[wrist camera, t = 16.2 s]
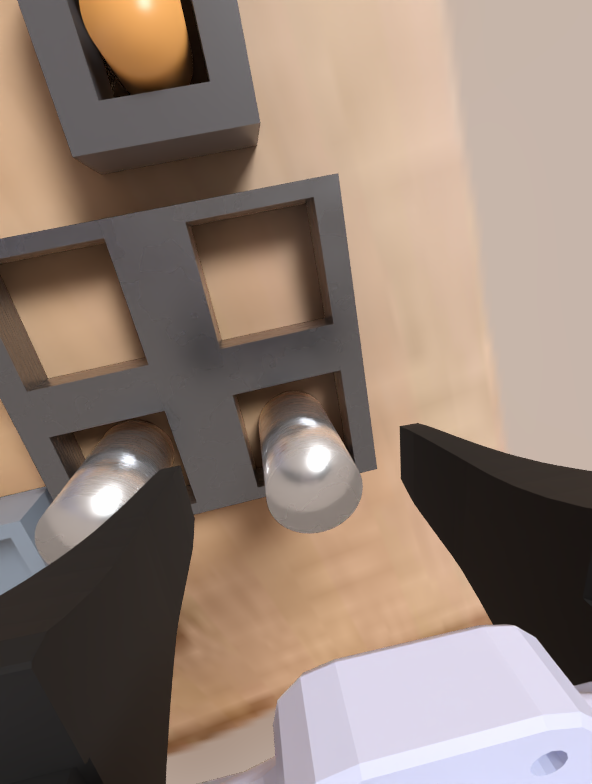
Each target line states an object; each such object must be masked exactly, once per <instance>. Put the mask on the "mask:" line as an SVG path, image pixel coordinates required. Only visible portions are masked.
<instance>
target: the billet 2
mask: <svg viewBox="0 0 592 784" xmlns="http://www.w3.org/2000/svg"><path fill="white" fill-rule="evenodd" d="M259 435H260V444H261V453H262V463H263V472H264V481H265V490H266V500H267V505H268V508H269V511H270V512H271V514H272V516H273V517H274V518H275V520H276V521H277V522H278V523H280V524H281V525H282V526H284V527H286V528H287V529H290V530H292V531H295V532H299V533H319V532H324V531H327V530H330V529H332V528H334V527H336V526H338V525H340V524H341V523H343V522H344V521H345V520H346V519H347V518H349V517H350V515H351V514H352V513H353V512H354V511H355V509H356V508H357V506H358V504H359V502H360V499H361V495H362V488H363V485H362V478H361V475H360V473H359V470H358V469H357V467H356V465H355V463H354V462H353V460H352V458H351V456H350V454H349V453H348V451H347V449H346V447H345V446H344V444H343V442H342V440H341V438H340V437H339V435H338V433H337V431H336V430H335V428H334V426H333V424H332V423H331V421H330V419H329V417H328V415H327V414H326V412H325V410H324V408H323V407H322V405H321V404H320V402H319V401H318V400H317V399H316V398H314V397H313V396H311V395H309V394H307V393H304V392H298V391H290V392H285V393H282V394H279V395H277V396H275V397H274V398H272V399H271V400H270V401H269V402H268V403H267V404H266V405H265V406H264V408H263V410H262V412H261V414H260V417H259Z"/></svg>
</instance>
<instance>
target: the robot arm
mask: <svg viewBox="0 0 592 784" xmlns="http://www.w3.org/2000/svg"><path fill="white" fill-rule="evenodd" d="M400 457H401V480H402V482H403V484H404V486H405V488H406V490H407V492H408V493H409V495H410V497H411V499H412V501H413V502H414V504H415V505H416V507H417V508H418V510H419V511H420V513H421V514H422V515H423V517H424V518H425V519H426V521H427V522H428V524H429V525H430V526H431V528H432V529H433V530H434V532H435V533H436V534H437V536H438V537H439V539H440V540H441V541H442V543H443V544H444V545H445V547H446V548H447V549H448V551H449V552H450V553H451V555H452V556H453V558H454V559H455V561H456V562H457V564H458V565H459V567H460V568H461V570H462V571H463V573H464V574H465V576H466V578H467V580H468V581H469V583H470V585H471V586H472V588H473V590H474V591H475V593H476V595H477V597H478V598H479V600H480V602H481V604H482V605H483V607H484V609H485V611H486V613H487V614H488V616H489V618H490V620H491V622H492V623H493V625H478V626H474V627H470V628H465V629H461V630H457V631H453V632H449V633H444V634H440V635H436V636H432V637H427V638H423V639H419V640H415V641H410V642H406V643H402V644H398V645H394V646H389V647H385V648H381V649H377V650H372V651H368V652H364V653H360V654H356V655H351V656H347V657H343V658H339V659H334V660H332V661H329V662H327V663H325V664H323V665H320V666H318V667H316V668H313V669H311V670H309V671H306V672H304V673H303V674H302V675H301V676H300V677H299V678H298V679H297V680H296V681H295V682H294V683H293V684H292V685H291V686H290V687H289V688H288V689H287V690H286V691H285V692H284V693H283V694H282V696H281V697H280V698H279V699H278V700H277V706H276V711H275V717H274V722H273V731H274V743H275V756H274V757H272V758H270V759H268V760H266V761H264V762H262V763H260V764H258V765H256V766H254V767H252V768H250V769H248V770H246V771H244V772H241V773H237V774H233V775H229V776H225V777H222V778H217V779H214V780H210V781H206V782H202V783H199V784H592V471H587V470H580V469H575V468H569V467H563V466H557V465H552V464H547V463H542V462H538V461H533V460H530V459H526V458H522V457H517V456H514V455H510V454H507V453H503V452H500V451H497V450H494V449H491V448H487V447H484V446H481V445H479V444H476V443H473V442H470V441H467V440H464V439H462V438H459V437H456V436H454V435H451V434H448V433H446V432H443V431H440V430H437V429H435V428H432V427H429V426H426V425H423V424H419V423H416V424H410V425H405V426H400ZM194 520H195V518H194V514H193V511H192V507H191V503H190V499H189V496H188V492H187V488H186V484H185V481H184V477H183V473H182V469H181V466H175V467H169V468H164V469H160V470H159V471H158V472H157V473H156V474H155V475H153V476H152V477H151V478H150V479H149V480H148V481H147V482H146V483H145V484H144V485H143V486H142V487H141V488H140V489H139V490H138V491H137V492H136V493H135V494H134V495H133V496H132V497H131V498H130V499H129V500H128V501H127V502H126V503H125V504H124V505H123V506H122V507H121V508H120V509H119V510H118V511H116V512H115V513H114V514H113V515H112V516H111V517H110V518H109V519H107V520H106V521H105V522H104V523H103V524H102V525H101V526H100V527H99V528H97V529H96V530H95V531H94V532H93V533H91V534H90V535H89V536H88V537H86V538H85V539H84V540H83V541H81V542H80V543H79V544H77V545H76V546H75V547H73V548H72V549H71V550H69V551H68V552H67V553H65V554H64V555H63V556H61V557H60V558H58V559H57V560H55V561H54V562H52V563H51V564H49V565H48V566H46V567H45V568H43V569H42V570H40V571H39V572H37V573H36V574H34V575H33V576H31V577H30V578H28V579H27V580H25V581H23V582H22V583H20V584H18V585H17V586H15V587H13V588H12V589H10V590H8V591H7V592H5V593H3V594H2V595H0V784H166V764H167V748H168V731H169V715H170V702H171V689H172V677H173V665H174V655H175V645H176V634H177V628H178V621H179V615H180V610H181V605H182V600H183V595H184V590H185V585H186V580H187V575H188V570H189V565H190V560H191V555H192V549H193V539H194Z"/></svg>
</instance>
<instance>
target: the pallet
mask: <svg viewBox="0 0 592 784" xmlns="http://www.w3.org/2000/svg"><path fill="white" fill-rule="evenodd" d="M305 203H306V206H307V212H308V218H309V224H310V230H311V237H312V243H313V249H314V255H315V261H316V267H317V273H318V280H319V286H320V292H321V298H322V304H323V310H324V316H325V318H322V319H317V320H313V321H308V322H304V323H299V324H295V325H290V326H286V327H281V328H277V329H272V330H267V331H263V332H258V333H254V334H249V335H245V336H240V337H236V338H231V339H227V340H222V339H221V336H220V332H219V328H218V325H217V321H216V317H215V313H214V310H213V306H212V302H211V299H210V295H209V291H208V287H207V284H206V280H205V276H204V273H203V269H202V265H201V261H200V258H199V254H198V250H197V247H196V243H195V239H194V235H193V232H192V228H191V226H194V225H199V224H204V223H209V222H214V221H219V220H224V219H229V218H234V217H240V216H245V215H250V214H255V213H260V212H265V211H270V210H275V209H280V208H285V207H290V206H295V205H300V204H305ZM103 243H106V245H107V248H108V251H109V254H110V256H111V259H112V262H113V265H114V268H115V271H116V274H117V276H118V279H119V282H120V285H121V288H122V291H123V293H124V296H125V299H126V302H127V305H128V308H129V311H130V313H131V316H132V319H133V322H134V325H135V328H136V331H137V333H138V336H139V339H140V342H141V345H142V348H143V351H144V353H145V356H146V357H145V358H140V359H136V360H131V361H126V362H122V363H117V364H113V365H108V366H104V367H99V368H95V369H90V370H86V371H81V372H76V373H72V374H67V375H63V376H58V377H54V378H49V379H48V378H47V376H46V374H45V371H44V369H43V367H42V365H41V363H40V361H39V358H38V356H37V354H36V352H35V350H34V348H33V345H32V343H31V341H30V339H29V337H28V334H27V332H26V330H25V328H24V326H23V324H22V321H21V319H20V317H19V315H18V313H17V311H16V308H15V306H14V304H13V302H12V300H11V297H10V295H9V293H8V291H7V289H6V287H5V284H4V282H3V280H2V278H1V276H0V399H1V400H2V402H3V404H4V406H5V408H6V410H7V412H8V414H9V416H10V418H11V420H12V422H13V424H14V425H15V427H16V429H17V431H18V433H19V435H20V437H21V439H22V441H23V443H24V445H25V447H26V449H27V450H28V452H29V454H30V456H31V458H32V460H33V462H34V464H35V466H36V468H37V470H38V472H39V474H40V476H41V477H42V479H43V481H44V483H45V485H46V487H47V489H48V491H49V493H50V495H51V497H52V499H53V501H54V500H55V498H56V497H57V496H58V494H59V493H60V492H61V491H62V489H63V488H64V487H65V485H66V484H67V483H68V481H69V480H70V479H71V478H72V476H73V475H74V474H75V472H76V471H77V470H78V469H79V467H80V466H81V465H82V463H83V462H84V461H85V458H84V456H83V454H82V452H81V450H80V448H79V445H78V443H77V441H76V439H75V437H74V435H73V432H75V431H79V430H83V429H88V428H92V427H96V426H101V425H105V424H109V423H114V422H118V421H122V420H127V419H131V418H135V417H140V416H144V415H148V414H153V413H157V412H162V411H165V413H166V416H167V419H168V422H169V425H170V428H171V430H172V433H173V436H174V439H175V442H176V445H177V448H178V450H179V453H180V456H181V459H182V462H183V465H184V467H185V470H186V473H187V476H188V479H189V482H190V485H187V486H186V488H187V492H188V496H189V499H190V503H191V507H192V511H193V514H198V513H202V512H206V511H210V510H214V509H218V508H222V507H226V506H230V505H234V504H238V503H242V502H246V501H250V500H254V499H258V498H262V497H266V490H265V481H264V472H263V467H261V468H257V469H256V466H255V462H254V458H253V455H252V451H251V447H250V443H249V440H248V436H247V432H246V429H245V425H244V421H243V417H242V414H241V410H240V406H239V403H238V399H237V395H236V394H240V393H244V392H248V391H253V390H257V389H261V388H266V387H270V386H274V385H279V384H283V383H287V382H292V381H296V380H300V379H305V378H309V377H313V376H318V375H322V374H327V373H331V372H334V378H335V384H336V390H337V396H338V402H339V408H340V415H341V421H342V427H343V433H344V439H345V445H346V449H347V451H348V453H349V454H350V456H351V458H352V460H353V462H354V463H355V465H356V467H357V469H358V470H359V473H362V472H366V471H370V470H374V469H377V465H376V457H375V450H374V442H373V434H372V427H371V419H370V412H369V404H368V396H367V389H366V381H365V374H364V366H363V358H362V351H361V343H360V336H359V328H358V320H357V313H356V305H355V297H354V290H353V282H352V275H351V267H350V259H349V252H348V244H347V237H346V229H345V221H344V214H343V206H342V199H341V191H340V183H339V176H338V174H332V175H327V176H322V177H317V178H312V179H307V180H301V181H296V182H291V183H286V184H281V185H276V186H270V187H265V188H260V189H255V190H250V191H245V192H239V193H234V194H229V195H224V196H219V197H214V198H209V199H203V200H198V201H193V202H188V203H183V204H178V205H172V206H167V207H162V208H157V209H152V210H147V211H141V212H136V213H131V214H126V215H121V216H116V217H110V218H105V219H100V220H95V221H90V222H85V223H79V224H74V225H69V226H64V227H59V228H54V229H48V230H43V231H38V232H33V233H28V234H23V235H17V236H12V237H7V238H2V239H0V264H2V263H7V262H12V261H17V260H22V259H27V258H33V257H38V256H43V255H48V254H53V253H58V252H63V251H68V250H73V249H78V248H83V247H88V246H93V245H98V244H103Z"/></svg>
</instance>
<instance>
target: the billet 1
mask: <svg viewBox="0 0 592 784" xmlns="http://www.w3.org/2000/svg"><path fill="white" fill-rule="evenodd" d="M173 461H174V447H173V444H172V441H171V440H170V438H169V436H168V435H167V434H166V433H165V432H164V431H163V430H162V429H160V428H159V427H157V426H155V425H153V424H151V423H148V422H144V421H136V420H134V421H125V422H122V423H119V424H117V425H115V426H113V427H112V428H111V429H109V430H108V431H107V432H106V433H105V435H104V436H103V437H102V439H101V440H100V441H99V443H98V444H97V445H96V446H95V448H94V449H93V450H92V452H91V453H90V454H89V456H88V457H87V458H86V459H85V461H84V462H83V463H82V465H81V466H80V467H79V469H78V470H77V471H76V472H75V474H74V475H73V476H72V478H71V479H70V480H69V481H68V483H67V484H66V485H65V487H64V488H63V489H62V491H61V492H60V493H59V494H58V496H57V497H56V498H55V500H54V501H53V502H52V504H51V505H50V506H49V507H48V509H47V510H46V511H45V513H44V514H43V515H42V517H41V518H40V520H39V521H38V524H37V526H36V529H35V544H36V547H37V550H38V552H39V554H40V555H41V557H42V558H43V559H44V560H45V562H46V563H47V564H51V563H52V562H54V561H55V560H57V559H58V558H60V557H61V556H63V555H64V554H65V553H67V552H68V551H69V550H71V549H72V548H73V547H75V546H76V545H77V544H79V543H80V542H81V541H83V540H84V539H85V538H86V537H88V536H89V535H90V534H91V533H93V532H94V531H95V530H96V529H97V528H99V527H100V526H101V525H102V524H103V523H104V522H105V521H106V520H107V519H109V518H110V517H111V516H112V515H113V514H114V513H115V512H116V511H118V510H119V509H120V508H121V507H122V506H123V505H124V504H125V503H126V502H127V501H128V500H129V499H130V498H131V497H132V496H133V495H134V494H135V493H136V492H137V491H138V490H139V489H140V488H141V487H142V486H143V485H144V484H145V483H146V482H147V481H148V480H149V479H150V478H151V477H152V476H153V475H155V474H156V473H157V472H158V471H159V470H160V469H164V468H169V467H172V464H173Z"/></svg>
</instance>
